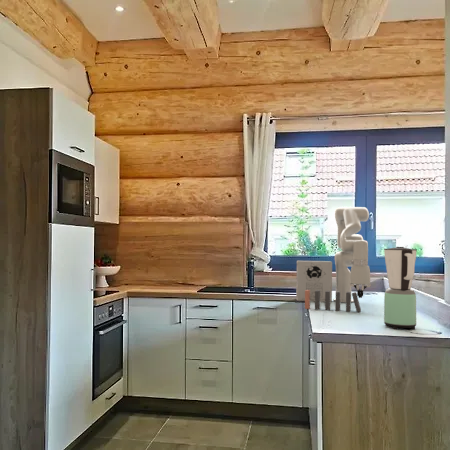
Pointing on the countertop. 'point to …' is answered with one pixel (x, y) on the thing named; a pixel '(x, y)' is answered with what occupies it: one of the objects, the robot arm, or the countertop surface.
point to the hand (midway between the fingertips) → (360, 297)
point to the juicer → (400, 288)
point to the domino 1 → (307, 299)
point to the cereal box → (313, 279)
